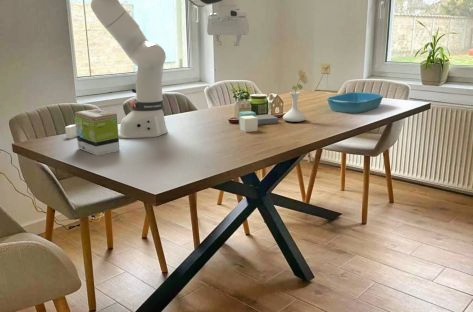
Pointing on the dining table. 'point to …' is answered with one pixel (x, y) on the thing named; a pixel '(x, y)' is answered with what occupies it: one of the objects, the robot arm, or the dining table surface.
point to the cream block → (248, 123)
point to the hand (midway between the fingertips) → (227, 45)
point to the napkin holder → (71, 131)
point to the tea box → (97, 131)
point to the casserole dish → (354, 101)
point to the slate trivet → (266, 119)
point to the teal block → (246, 114)
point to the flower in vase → (295, 113)
